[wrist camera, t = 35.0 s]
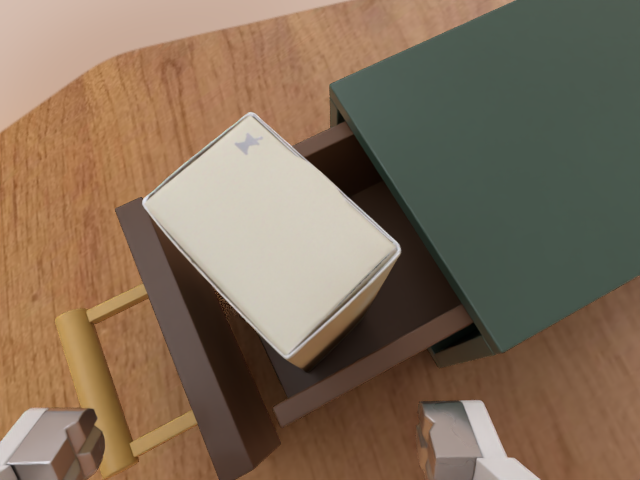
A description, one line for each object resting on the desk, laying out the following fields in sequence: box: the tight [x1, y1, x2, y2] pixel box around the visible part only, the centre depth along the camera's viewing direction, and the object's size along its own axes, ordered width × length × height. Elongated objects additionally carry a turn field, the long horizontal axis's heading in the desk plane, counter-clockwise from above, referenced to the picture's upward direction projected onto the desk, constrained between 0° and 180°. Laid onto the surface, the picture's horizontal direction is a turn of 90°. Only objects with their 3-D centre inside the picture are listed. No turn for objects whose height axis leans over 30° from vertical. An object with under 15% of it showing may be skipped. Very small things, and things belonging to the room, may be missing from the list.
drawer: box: [55, 121, 474, 480], centre depth 20 cm, size 18×11×8 cm, turn 117°
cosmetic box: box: [142, 112, 401, 373], centre depth 17 cm, size 6×4×12 cm
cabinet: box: [329, 0, 640, 368], centre depth 22 cm, size 15×13×10 cm
